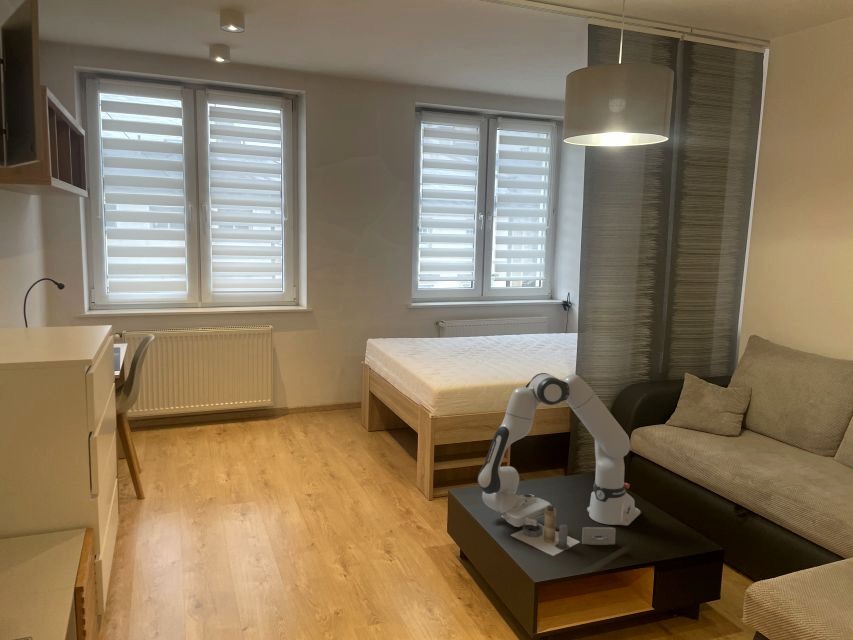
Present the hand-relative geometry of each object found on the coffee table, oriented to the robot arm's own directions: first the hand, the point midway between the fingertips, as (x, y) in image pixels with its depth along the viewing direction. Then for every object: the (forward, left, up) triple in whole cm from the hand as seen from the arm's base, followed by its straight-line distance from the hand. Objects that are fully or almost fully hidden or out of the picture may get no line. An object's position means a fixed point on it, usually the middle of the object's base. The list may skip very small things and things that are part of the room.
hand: (545, 519), depth 239 cm
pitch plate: (0, 0, -9) cm, 9 cm away
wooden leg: (0, +2, -7) cm, 7 cm away
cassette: (-12, +15, -9) cm, 21 cm away
